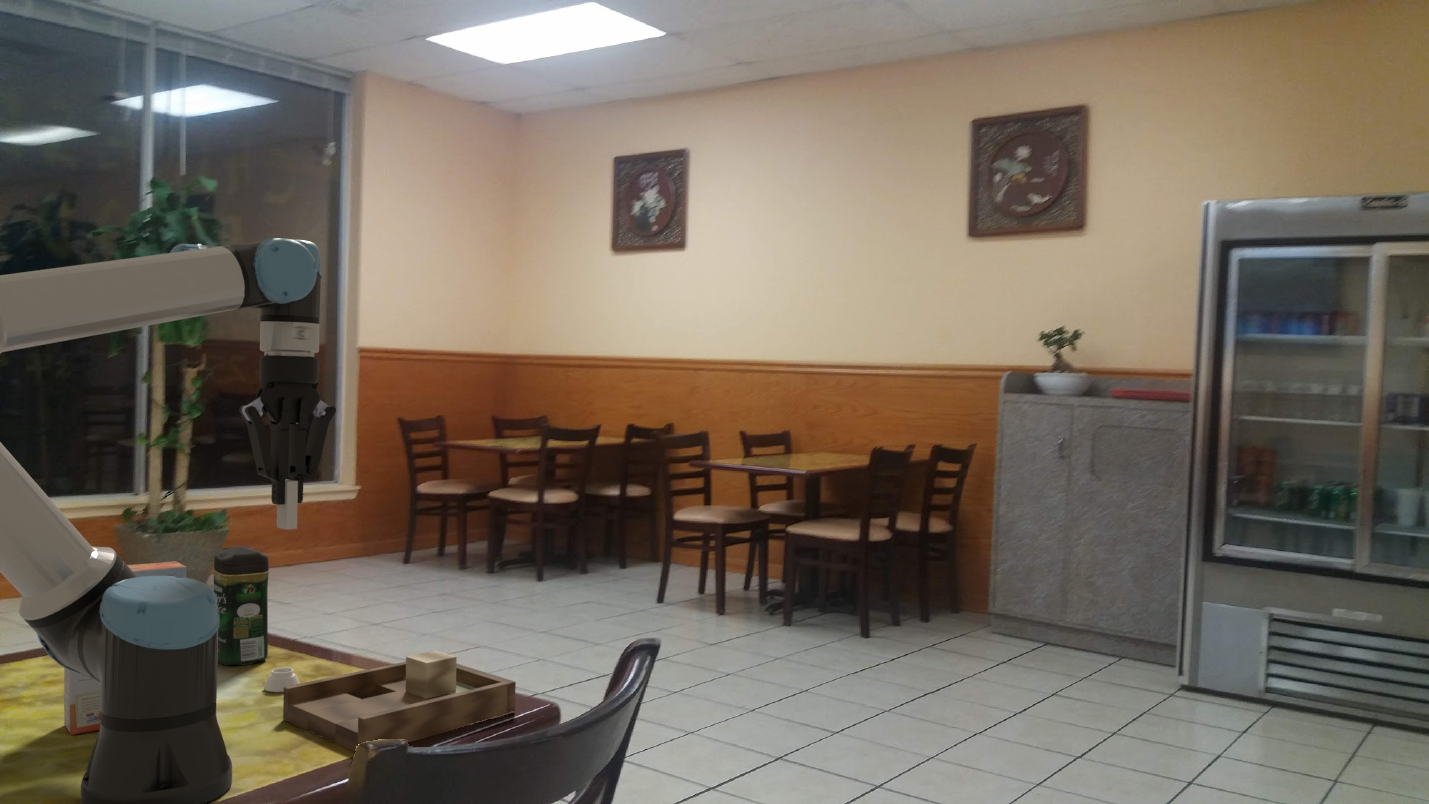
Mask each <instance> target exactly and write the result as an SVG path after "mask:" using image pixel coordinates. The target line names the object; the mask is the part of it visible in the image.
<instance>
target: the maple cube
mask: <svg viewBox="0 0 1429 804" xmlns="http://www.w3.org/2000/svg"><path fill="white" fill-rule="evenodd" d="M405 662H406V692H408V693H411V694H414V695H417V696H420V697H422V698H425V699H427V698H431V697H436V696H440V695H444V694H448V693H452V692H456V663H457V656H455V655H452V654H449V653H445V652H443V651H439V650H431V651H426V652H422V653H418V654H413V655H412V654H411V655H408V656H405Z"/></svg>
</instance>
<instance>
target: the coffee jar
mask: <svg viewBox="0 0 1429 804" xmlns="http://www.w3.org/2000/svg"><path fill="white" fill-rule="evenodd" d="M213 558H214V560H213V591H214V592H215V594H216V597H217V605H218V613H219V619H220V623H219V628H218V658H217V662H219V663H220V664H222V665H225V666H229V665H234V666H235V665H236V666H248V665H253V664H255V663H257V662H260V661H265V660H266V659H267V657H268V655H269V653H268V652H269V648H268V647H269V645H268V644H269V636H268V635H269V634H268V633H269V631H268V629H269V628H268V627H269V626H268V623H269V621H268V619H269V618H268V611H269V610H268V606H269V605H268V604H269V603H268V601H269V599H268V598H269V593H268V590H269V589H268V587H269V575H270V572H269V571H270V567H269V566H270V565H269V564H270V563H269V556H268V555H267V554H265V553H264V552H262V551H259V550H256V549H255V548H252V547H250V546H249V545H242V546H241V545H239V546H238V545H237V546H227V547H223V548H222V549H221V550H219V551H218V552H216V554H215V555H214V557H213Z"/></svg>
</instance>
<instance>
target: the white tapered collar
mask: <svg viewBox="0 0 1429 804" xmlns="http://www.w3.org/2000/svg"><path fill="white" fill-rule="evenodd" d="M270 673H271V674H270V675H269V676H268V678H267V679H266V681H265V683H264V685H263V689H264V690H265V691H267V692H269V693H275V694H278V693H280V694H282V693H284V687H286V686H291V685H296V684H301V682H300V680H299V678H298V675H297V673H294V669H293V668H292V667H278V668H274V669H271V672H270Z"/></svg>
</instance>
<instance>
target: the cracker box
mask: <svg viewBox="0 0 1429 804" xmlns="http://www.w3.org/2000/svg"><path fill="white" fill-rule="evenodd" d="M126 565H127V566H128V567H129V568H130V569H131V570H132V572H133V573H134V574H135V575H136V576H137V577H144V576H174V577H176V578H187V573H188V572H187V569H188V567H187V566H186V565H184V564H182V563H181V562H178V561H177V560H175V561H174V560H173V561H167V562H166V561H165V562H163V561H162V562H153V563H139V564H137V563H136V564H126ZM63 668H64V671H63V674H64V675H63V683H64V685H63V687H64V688H63V710H64V711H63V717H64V720H63V721H64V722H63V723H64V726H65V727H66V730H67V731H68V733H69V734H70V735H71V736H72V735H73V736H74V735H78V734H85V733H91V732H96V731H97V732H98V731H100V713H101V711H100V694H101V682H99V681H97V680H95V679H93V678H91V677H89V676H87V675H84V674H82V673H78V672H74V671H72V670H69V669H67V668H65V667H63Z"/></svg>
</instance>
